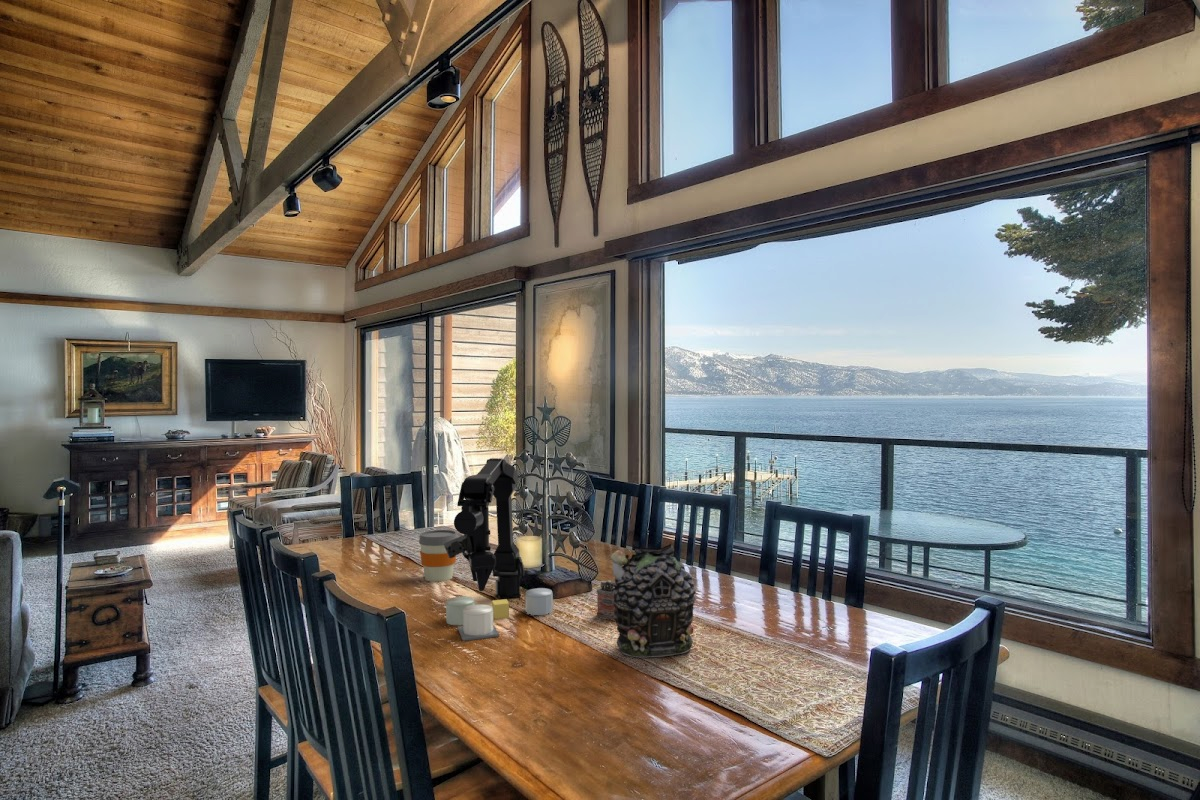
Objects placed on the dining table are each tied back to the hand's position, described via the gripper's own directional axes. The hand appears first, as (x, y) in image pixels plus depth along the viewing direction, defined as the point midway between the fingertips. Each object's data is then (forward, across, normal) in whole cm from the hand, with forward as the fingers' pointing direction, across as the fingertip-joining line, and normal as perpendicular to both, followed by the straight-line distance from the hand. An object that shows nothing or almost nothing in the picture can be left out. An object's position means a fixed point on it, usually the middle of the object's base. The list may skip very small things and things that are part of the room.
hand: (478, 585), depth 172 cm
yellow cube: (+12, -9, +8) cm, 17 cm away
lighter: (+12, +3, +36) cm, 38 cm away
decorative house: (+12, +28, +38) cm, 48 cm away
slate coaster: (+12, +2, 0) cm, 12 cm away
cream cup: (+11, +2, 0) cm, 11 cm away
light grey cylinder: (+12, -9, +19) cm, 24 cm away
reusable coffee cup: (+12, -56, -4) cm, 57 cm away
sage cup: (+12, -10, -3) cm, 15 cm away
